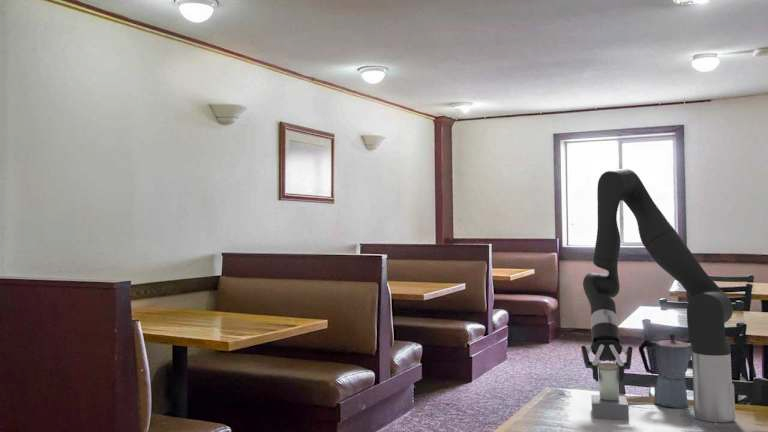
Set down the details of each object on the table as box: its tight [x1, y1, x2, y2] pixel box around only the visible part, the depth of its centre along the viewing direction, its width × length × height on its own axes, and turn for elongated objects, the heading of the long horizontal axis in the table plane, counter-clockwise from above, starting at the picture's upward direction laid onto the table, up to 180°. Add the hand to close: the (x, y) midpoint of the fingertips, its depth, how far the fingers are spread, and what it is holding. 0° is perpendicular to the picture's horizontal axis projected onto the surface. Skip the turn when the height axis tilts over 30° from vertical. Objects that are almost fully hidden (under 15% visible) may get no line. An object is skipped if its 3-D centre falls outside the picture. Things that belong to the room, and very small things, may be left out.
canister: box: [598, 362, 620, 400], centre depth 181 cm, size 5×5×9 cm
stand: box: [590, 394, 630, 421], centre depth 180 cm, size 9×9×4 cm
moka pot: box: [638, 333, 692, 409], centre depth 189 cm, size 10×15×20 cm, turn 78°
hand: (609, 380), depth 179 cm, fingers open, 5 cm apart
